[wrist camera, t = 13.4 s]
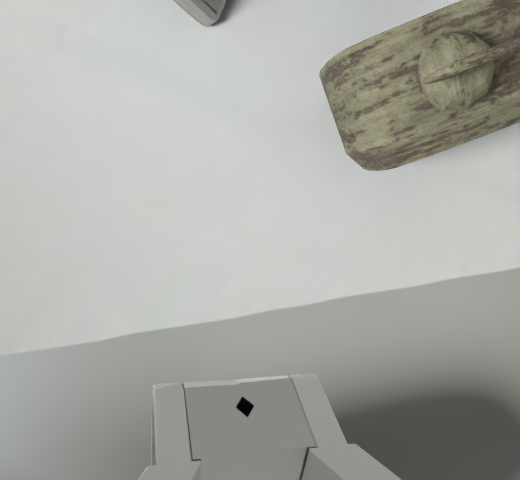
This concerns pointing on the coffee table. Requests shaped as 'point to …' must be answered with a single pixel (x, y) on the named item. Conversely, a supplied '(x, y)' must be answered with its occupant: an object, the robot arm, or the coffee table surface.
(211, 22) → the digital clock
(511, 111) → the tabletop clock
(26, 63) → the coffee table surface
